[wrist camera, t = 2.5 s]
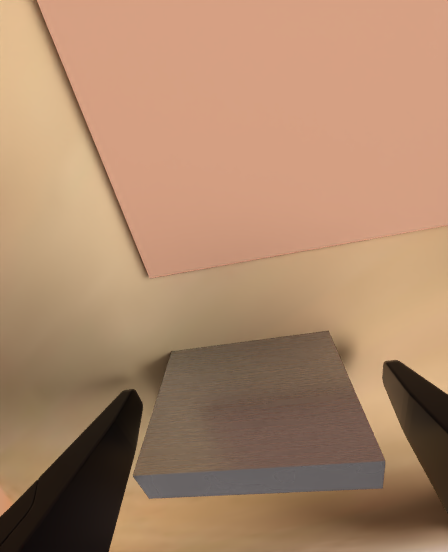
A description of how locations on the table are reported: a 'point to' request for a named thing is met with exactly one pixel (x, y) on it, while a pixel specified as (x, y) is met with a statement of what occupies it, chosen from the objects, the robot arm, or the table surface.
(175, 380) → the grey stepped block
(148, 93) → the mat
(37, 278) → the table surface
